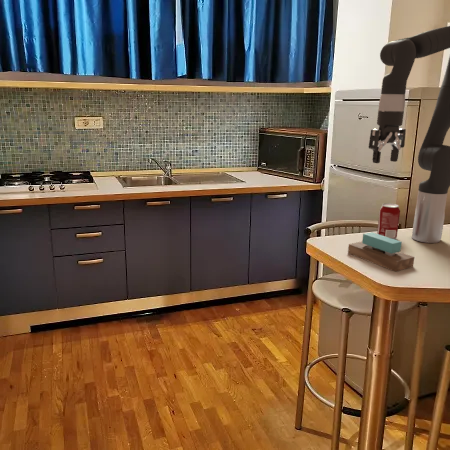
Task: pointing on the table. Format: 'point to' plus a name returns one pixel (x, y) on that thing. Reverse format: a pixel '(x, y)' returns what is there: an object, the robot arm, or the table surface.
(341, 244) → the table surface
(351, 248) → the board
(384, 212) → the soda can
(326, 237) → the table surface
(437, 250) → the table surface
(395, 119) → the robot arm
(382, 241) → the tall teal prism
